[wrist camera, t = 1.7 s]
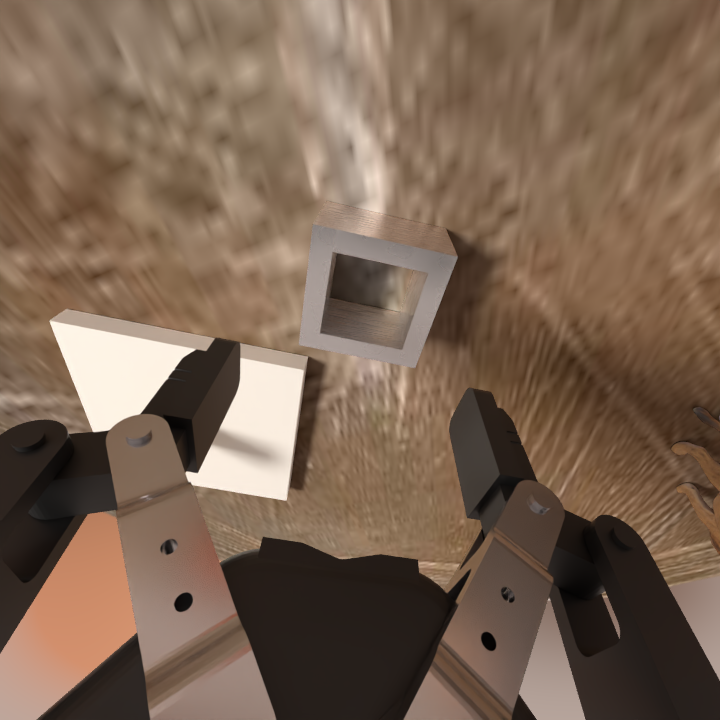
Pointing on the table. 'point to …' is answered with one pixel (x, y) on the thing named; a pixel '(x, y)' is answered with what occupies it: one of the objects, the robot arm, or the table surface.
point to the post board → (151, 369)
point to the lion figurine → (715, 518)
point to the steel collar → (362, 322)
